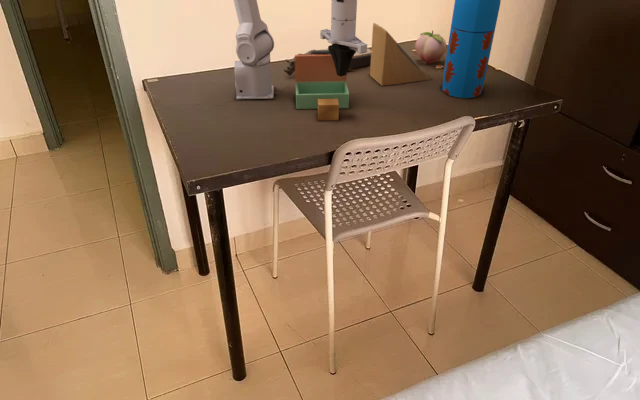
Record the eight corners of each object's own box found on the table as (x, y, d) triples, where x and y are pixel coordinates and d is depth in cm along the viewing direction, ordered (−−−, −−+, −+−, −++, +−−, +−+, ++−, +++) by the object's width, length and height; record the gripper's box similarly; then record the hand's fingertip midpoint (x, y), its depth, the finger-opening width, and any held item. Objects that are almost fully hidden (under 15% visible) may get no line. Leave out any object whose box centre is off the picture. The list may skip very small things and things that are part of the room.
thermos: (433, 86, 139) (447, -10, 125) (463, 80, 144) (480, -14, 129) (459, 101, 132) (477, 0, 117) (490, 93, 136) (511, -4, 121)
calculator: (378, 51, 152) (338, 58, 144) (377, 65, 154) (337, 73, 147) (355, 41, 159) (316, 48, 152) (354, 55, 162) (316, 62, 154)
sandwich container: (431, 79, 144) (438, 26, 135) (382, 86, 140) (386, 31, 131) (416, 69, 150) (423, 17, 142) (369, 75, 146) (373, 22, 138)
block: (318, 120, 122) (318, 105, 119) (317, 114, 125) (317, 98, 122) (338, 120, 122) (338, 104, 120) (337, 113, 125) (337, 98, 123)
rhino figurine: (279, 77, 144) (278, 56, 141) (314, 66, 152) (314, 46, 148) (288, 81, 142) (287, 60, 138) (324, 69, 149) (324, 49, 146)
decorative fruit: (449, 64, 154) (454, 31, 148) (433, 70, 149) (438, 36, 144) (424, 56, 160) (428, 24, 154) (408, 62, 155) (412, 29, 149)
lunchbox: (348, 108, 128) (349, 94, 125) (296, 109, 127) (296, 94, 125) (345, 95, 134) (346, 81, 132) (295, 95, 134) (295, 82, 131)
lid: (348, 55, 124) (347, 45, 126) (295, 56, 124) (294, 45, 126) (346, 81, 132) (345, 70, 134) (295, 81, 131) (295, 71, 133)
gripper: (310, 13, 118) (310, 69, 125) (351, 28, 108) (349, 88, 116) (333, 8, 121) (332, 63, 129) (375, 22, 112) (371, 81, 120)
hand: (341, 74), depth 123 cm, fingers closed
